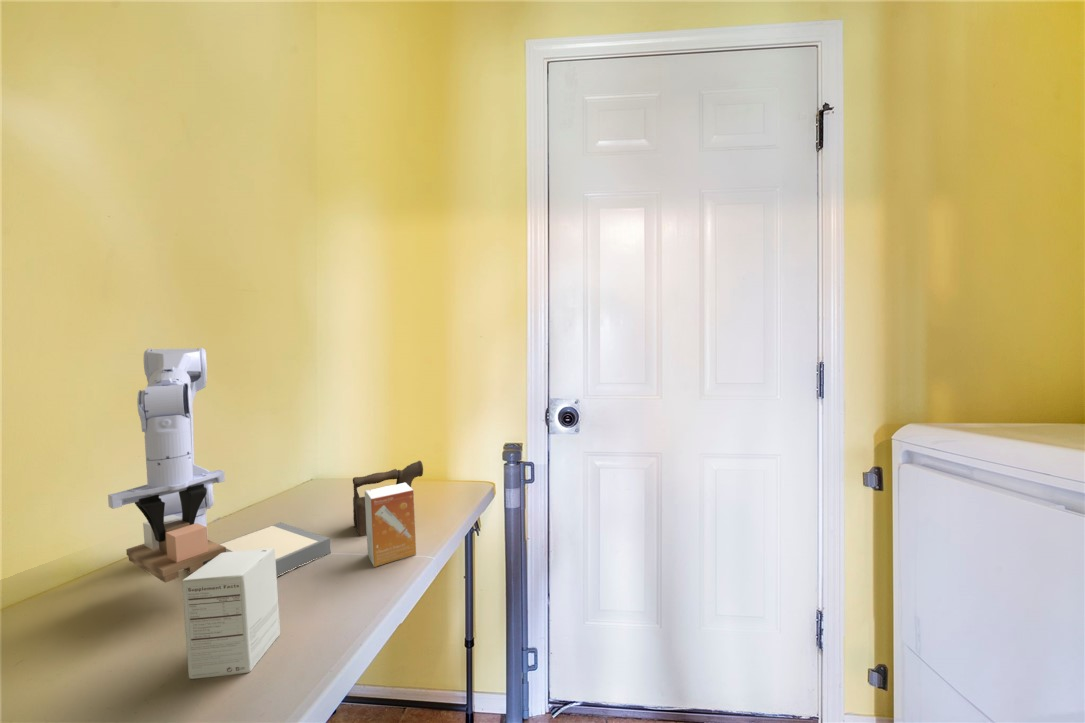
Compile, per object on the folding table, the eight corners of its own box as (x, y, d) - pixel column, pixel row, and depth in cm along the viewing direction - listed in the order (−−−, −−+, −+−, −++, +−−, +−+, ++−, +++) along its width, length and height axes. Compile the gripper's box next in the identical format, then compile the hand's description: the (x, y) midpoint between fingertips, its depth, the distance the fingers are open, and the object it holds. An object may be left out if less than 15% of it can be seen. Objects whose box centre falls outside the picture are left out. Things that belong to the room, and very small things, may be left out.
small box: (373, 568, 75) (369, 498, 75) (367, 555, 80) (363, 490, 80) (417, 555, 79) (414, 489, 79) (408, 543, 85) (405, 481, 85)
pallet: (127, 560, 70) (124, 525, 70) (186, 541, 76) (183, 509, 76) (163, 583, 61) (160, 543, 61) (226, 559, 68) (224, 523, 68)
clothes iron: (428, 519, 97) (425, 464, 97) (355, 537, 89) (352, 477, 88) (419, 509, 104) (417, 457, 104) (351, 525, 95) (348, 469, 95)
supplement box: (227, 639, 57) (221, 551, 57) (282, 634, 58) (277, 546, 58) (185, 681, 50) (179, 579, 50) (249, 674, 50) (243, 574, 50)
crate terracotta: (167, 557, 65) (165, 532, 65) (198, 546, 69) (196, 523, 69) (176, 562, 63) (175, 536, 63) (208, 551, 66) (206, 526, 66)
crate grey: (144, 545, 71) (142, 522, 71) (174, 536, 74) (172, 514, 74) (152, 549, 68) (151, 526, 68) (182, 539, 72) (181, 517, 72)
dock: (199, 566, 79) (198, 550, 79) (281, 535, 92) (280, 521, 92) (246, 591, 69) (245, 573, 69) (330, 552, 82) (329, 537, 82)
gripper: (115, 470, 60) (121, 560, 60) (230, 448, 72) (235, 523, 73) (102, 465, 64) (107, 550, 64) (213, 445, 76) (217, 517, 76)
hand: (174, 535), depth 69 cm, fingers closed on pallet, 3 cm apart
